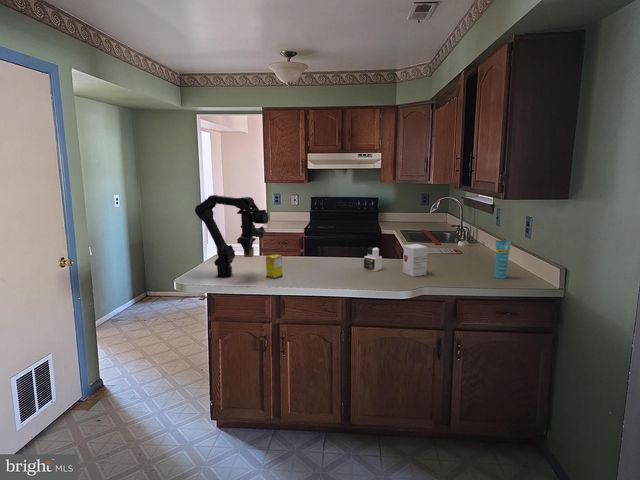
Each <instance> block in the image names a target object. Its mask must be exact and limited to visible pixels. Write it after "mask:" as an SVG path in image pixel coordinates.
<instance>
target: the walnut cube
mask: <svg viewBox="0 0 640 480" xmlns="http://www.w3.org/2000/svg"><path fill="white" fill-rule="evenodd" d="M254 251H255V250H254V247H253V246H252V247H250V250H249V255H246V253H245V251H244V250H243V257H244V258H253V257H254V255H255V253H254Z"/></svg>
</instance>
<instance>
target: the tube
mask: <svg viewBox="0 0 640 480" xmlns="http://www.w3.org/2000/svg"><path fill="white" fill-rule="evenodd" d="M511 244H512V240H511V239H510V240H495V268H494V270H495V271H494V277H495V278H496V279H501V280H502V279H503V280H505V279H506V277H507V269H508V261H509V254H510V250H511Z"/></svg>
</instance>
